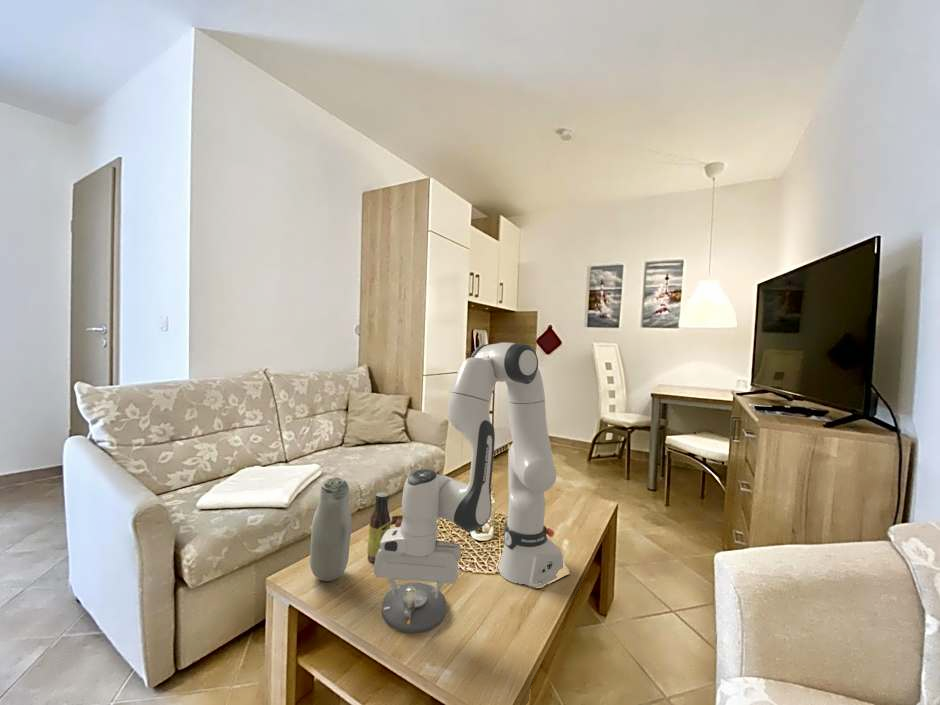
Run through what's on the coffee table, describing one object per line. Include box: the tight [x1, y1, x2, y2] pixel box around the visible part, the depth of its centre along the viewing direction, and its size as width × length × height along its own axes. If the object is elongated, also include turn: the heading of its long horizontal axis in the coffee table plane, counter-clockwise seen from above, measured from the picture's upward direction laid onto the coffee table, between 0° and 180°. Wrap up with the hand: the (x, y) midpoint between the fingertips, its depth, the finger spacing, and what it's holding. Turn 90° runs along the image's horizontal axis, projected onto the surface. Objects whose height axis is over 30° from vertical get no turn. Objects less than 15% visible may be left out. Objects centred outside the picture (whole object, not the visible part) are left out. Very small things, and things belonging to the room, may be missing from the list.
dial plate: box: [381, 582, 447, 634], centre depth 102 cm, size 16×16×2 cm
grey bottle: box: [309, 477, 353, 582], centre depth 112 cm, size 10×10×28 cm
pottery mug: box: [390, 514, 403, 528], centre depth 138 cm, size 12×10×8 cm
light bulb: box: [403, 586, 427, 618], centre depth 100 cm, size 10×6×6 cm, turn 171°
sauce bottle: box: [366, 491, 392, 563], centre depth 123 cm, size 7×6×20 cm
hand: (415, 595), depth 97 cm, fingers open, 8 cm apart
